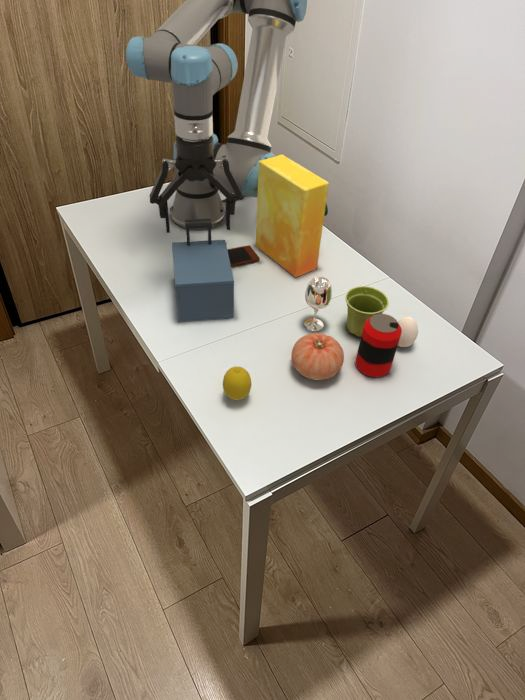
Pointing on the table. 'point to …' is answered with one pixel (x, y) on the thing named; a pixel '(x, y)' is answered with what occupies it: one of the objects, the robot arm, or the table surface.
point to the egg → (407, 331)
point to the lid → (201, 259)
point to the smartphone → (242, 256)
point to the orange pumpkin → (317, 356)
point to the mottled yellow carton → (290, 214)
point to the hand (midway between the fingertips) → (198, 228)
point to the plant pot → (363, 306)
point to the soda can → (378, 345)
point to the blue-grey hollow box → (205, 302)
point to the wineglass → (317, 300)
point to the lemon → (237, 383)
